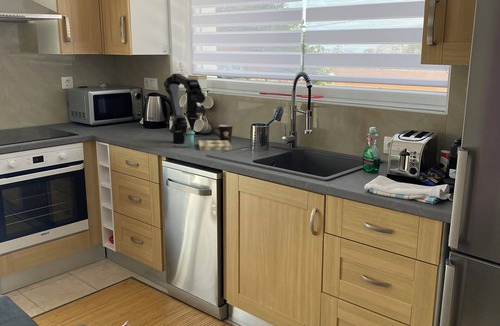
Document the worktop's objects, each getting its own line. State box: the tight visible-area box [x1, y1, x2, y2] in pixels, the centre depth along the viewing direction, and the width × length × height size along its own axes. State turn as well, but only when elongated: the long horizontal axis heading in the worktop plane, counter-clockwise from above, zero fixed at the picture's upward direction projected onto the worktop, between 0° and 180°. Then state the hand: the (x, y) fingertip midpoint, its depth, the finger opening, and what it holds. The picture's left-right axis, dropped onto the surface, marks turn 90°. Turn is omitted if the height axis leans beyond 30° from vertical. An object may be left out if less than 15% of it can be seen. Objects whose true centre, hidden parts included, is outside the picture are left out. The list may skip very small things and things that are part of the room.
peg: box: [185, 130, 196, 149], centre depth 291 cm, size 5×5×9 cm
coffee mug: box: [212, 124, 234, 143], centre depth 313 cm, size 12×9×10 cm
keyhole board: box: [198, 139, 232, 151], centre depth 293 cm, size 18×18×2 cm
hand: (191, 128), depth 290 cm, fingers open, 9 cm apart
